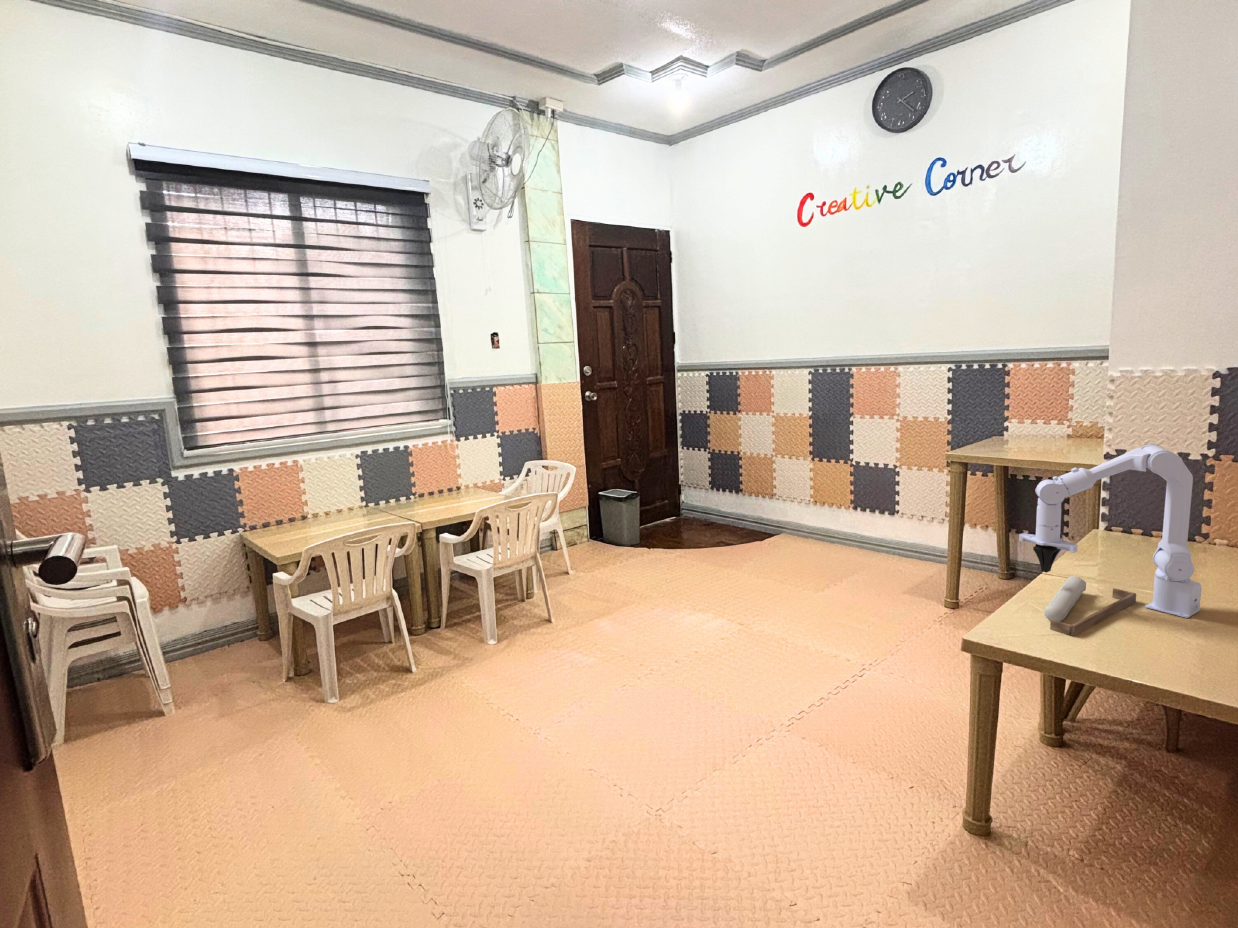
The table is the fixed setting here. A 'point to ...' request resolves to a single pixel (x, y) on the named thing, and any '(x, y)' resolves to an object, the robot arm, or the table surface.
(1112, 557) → the table surface
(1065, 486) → the robot arm
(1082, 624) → the bay
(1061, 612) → the tube
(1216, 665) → the table surface
